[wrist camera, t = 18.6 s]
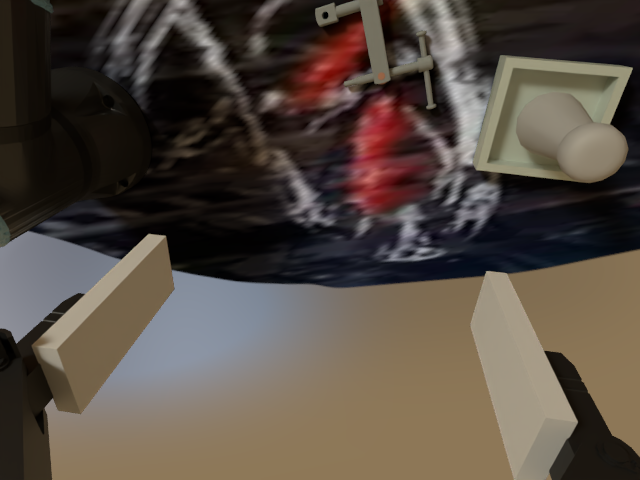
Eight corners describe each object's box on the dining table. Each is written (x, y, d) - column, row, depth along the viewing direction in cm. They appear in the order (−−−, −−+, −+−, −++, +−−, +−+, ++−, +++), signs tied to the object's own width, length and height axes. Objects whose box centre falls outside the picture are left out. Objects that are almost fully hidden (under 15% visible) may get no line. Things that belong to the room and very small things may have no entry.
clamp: (302, -34, 36) (415, -73, 34) (307, -31, 38) (415, -68, 36) (341, 131, 43) (439, 109, 40) (344, 126, 45) (437, 105, 42)
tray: (472, 162, 44) (476, 169, 42) (500, 55, 39) (506, 57, 36) (576, 174, 43) (585, 182, 40) (619, 65, 37) (632, 68, 35)
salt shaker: (497, 125, 41) (535, 165, 30) (543, 75, 38) (603, 98, 27) (540, 158, 42) (593, 210, 31) (588, 112, 39) (665, 149, 28)
